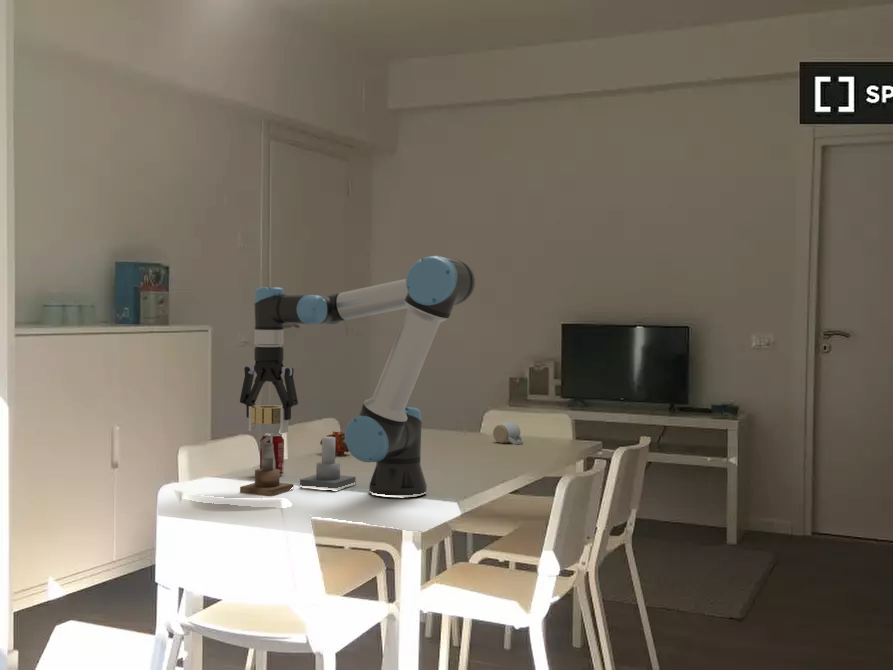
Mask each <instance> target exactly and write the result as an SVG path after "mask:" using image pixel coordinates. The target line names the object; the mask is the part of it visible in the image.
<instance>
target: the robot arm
mask: <svg viewBox="0 0 893 670" xmlns="http://www.w3.org/2000/svg"><path fill="white" fill-rule="evenodd" d="M475 287H476V277H475V274H474V271H473V269H472V267H471V266H469V264H467V263H466V262H465V261H463V260H460V259H457V258H449V257H443V256H441V255H431V256H430V255H429V256H425V257H422V258H420V259H418V260H417V261H416V262H414V263H413V264H412V266H411V267H410V268H409V270H408V273H407V275H406V278H403V279H399V280H395V281H394V280H393V281H389V282H385V283H381V284H376V285H372V286H366V287H361V288H356V289H351V290H348V291H344V292H342V291H341V292H338V293H333V294H328V295H315V294H285V290H284V288H283V287H275V286H272V287H271V286H270V287H268V286H264V287H263V286H262V287H258V288H256V290H255V296H254V304H253V305H254V343H253V344H254V345H256V346H255V347H254V349H253V350H254V352H253V353H254V356H253V357H254V361H255V363H254V365H248V366H245V367H244V378H243V379H244V380H243V382H242V383H243V384H242V386H241V387H242V388H241V394H240V397H239V403H241V404H243V405H245V406H246V411H245V412H246V418H247V419H248V432H253V431H257V430H258V424H256V423H251V406H256V401H257V399H258V397H259V395H260V393H261V389H262V387H263V386H264V384H265V383H266V382H269V383H272V385H274V388H275V390H276V393H277V394H278V397H279V399H280V402H281V404H282V405H281V406H283V407H282V408H280V423H279V424H280V428H279V429H280V434H287V433H289V421H290V420H291V419H292V407H295V406H297V405H298V404H299V401H298V397H297V395H298V394H297V392H296V391H297V390H296V385H295V379H294V371H295V369H294V367H285V365H284V364H283V361H284V348H283V345H284V327H285V326H284V325H285V324H286V325H287V324H290V325H291V324H293V325H294V324H296V325H321V324H322V325H325V324H327V325H335V324H339V323H341V322H344V321H347V320H352V319H359V318H364V317H368V316H374V315H379V314H383V313H388V312H393V311H399V310H404V309H407V311H406V313H405V315H404V319H403V320H402V323H401V326H400V327H399V330H398V334H397V336H396V338H395V341H394V343H393V345H392V347H391V350H390V353H389V356H388V358H387V361H386V363H385V365H384V368H383V370H382V373H381V375H380V378H379V380H378V382H377V383H378V384H377V385H376V387H375V390H374V393H373V396H371V397H370V398H367V399H365V400H364V402H363V404H362V406H361V408H360V411H359V414H358V416H356V417H353V418H352V419H351V420H350V421H349V422H348V424H347V425H346V428H345V431H344V433H345V443H346V445H347V447H348V450H349V452H348V453H350V454H351V455H352V456H353V458H354V459H356V460H358V461H360V462H363V463H375V467H374V470H373V473H372V475H371V479H370V482H369V486H368V492H369V491H371V492H373V493H377V494H385V495H413V494H421V493H424V492H426V491H427V490H428V489H427V488H428V487H427V486H428V485H427V482H426V479H425V475H424V472H423V469H422V465H421V456H422V455H421V454H422V453H421V451H422V448H421V447H422V424H423V420H422V412H421V410H420V409H419V408H417V407H410V406H407V405H408V402H409V400H410V397H411V395H412V392H413V390H414V388H415V385H416V383H417V380H418V378H419V375H420V374H421V370H422V369H423V365H424V363H425V360H426V358H427V356H428V354H429V351H430V348H431V346H432V344H433V342H434V339H435V336H436V334H437V331H438V329H439V327H440V325H441V323H443V322H445V321H447V320H449V319H450V316H451V313H452V312H453V308H454V307H455V306H457V305H461V304H463V303H464V302H466V301H467V300H469V299H470V297H471V296H472V295H473V293H474V290H475ZM254 374H256V376H255V375H254ZM282 375H283V377H282ZM254 378H255V379H254ZM283 378H284V379H283ZM253 382H254V383H253ZM284 384H285V385H284ZM427 492H428V491H427Z"/></svg>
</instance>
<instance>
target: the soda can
mask: <svg viewBox="0 0 893 670" xmlns="http://www.w3.org/2000/svg"><path fill="white" fill-rule="evenodd" d="M282 435H283V433H279V432H278V433H277V432H266V433H262V437H261V439H260V441H259V442H260V443H259V444H260V445H259V446H260V447H259V469H262V444H263V443H273V469H279V470H280V475H284V472H285V471H284V470H285V468H284V465H285V439H284V437H283V436H282Z"/></svg>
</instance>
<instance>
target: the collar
mask: <svg viewBox="0 0 893 670" xmlns="http://www.w3.org/2000/svg"><path fill="white" fill-rule="evenodd" d="M282 407H283V405H279V404H274V405H273V404H268V405H267V404H266V405H265V404H262V405H253V406H251V423H256V424H257V425H258V424H260V425H275V424H277V425H278V424H280V408H282Z"/></svg>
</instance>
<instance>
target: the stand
mask: <svg viewBox="0 0 893 670" xmlns="http://www.w3.org/2000/svg"><path fill="white" fill-rule="evenodd" d="M280 477H281V476H280V470H279V469H273V443H263V444H262V469H260V468H258V469H255V470H254V482H253V483H250V484H245V485H242V486H241V485H240V486H239V493H241V494H248V495H249V494H253V495H259V496H261V495H262V496H269V497H273V496H277V495H278V496H279V495H281V494H283V493H284V494H285V493H287V492H290V491H289V490H290V489H291V488H292V487H293V488H294V484H293V483H286V482H280Z"/></svg>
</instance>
